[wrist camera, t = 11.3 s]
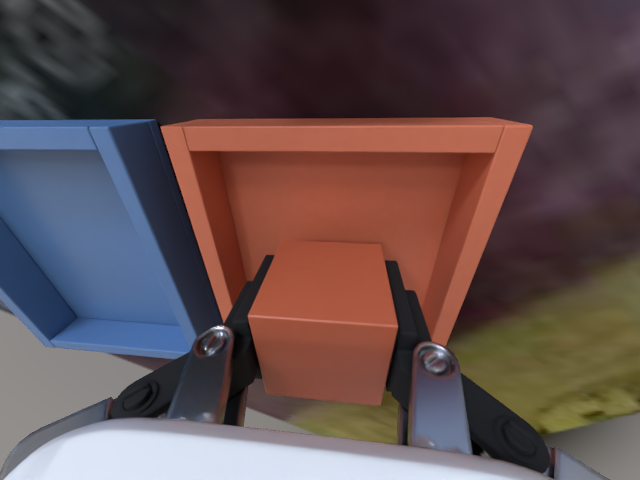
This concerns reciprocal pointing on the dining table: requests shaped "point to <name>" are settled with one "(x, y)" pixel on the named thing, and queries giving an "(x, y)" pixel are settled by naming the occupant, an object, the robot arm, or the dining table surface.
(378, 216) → the terracotta tray
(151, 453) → the robot arm
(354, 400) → the terracotta block
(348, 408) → the dining table surface
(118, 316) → the slate-blue tray
